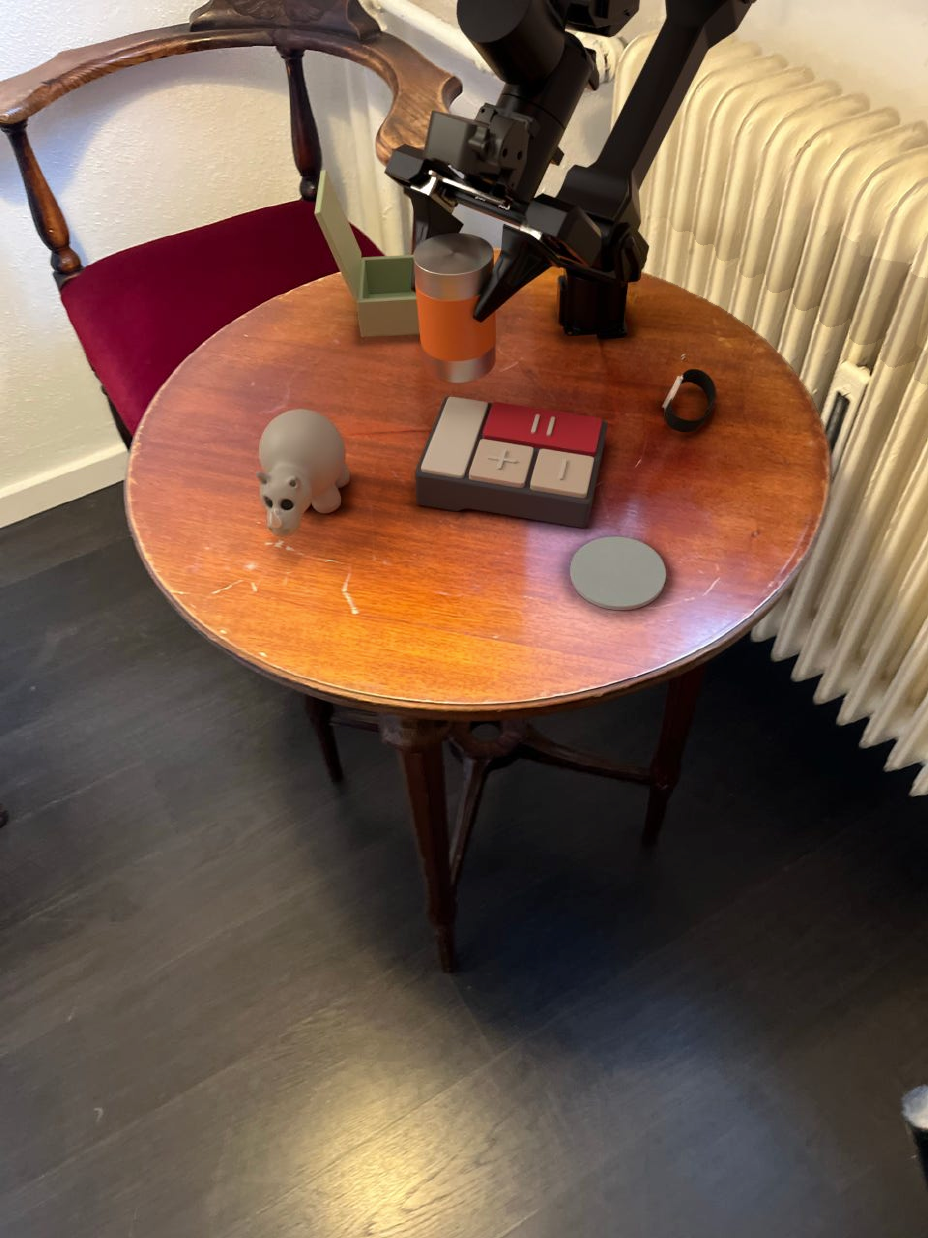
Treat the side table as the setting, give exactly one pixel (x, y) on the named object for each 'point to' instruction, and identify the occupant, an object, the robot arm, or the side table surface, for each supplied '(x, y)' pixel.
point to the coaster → (618, 573)
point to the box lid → (338, 233)
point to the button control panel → (511, 461)
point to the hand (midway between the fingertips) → (444, 305)
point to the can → (454, 306)
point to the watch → (687, 377)
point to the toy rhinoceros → (300, 468)
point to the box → (387, 297)
